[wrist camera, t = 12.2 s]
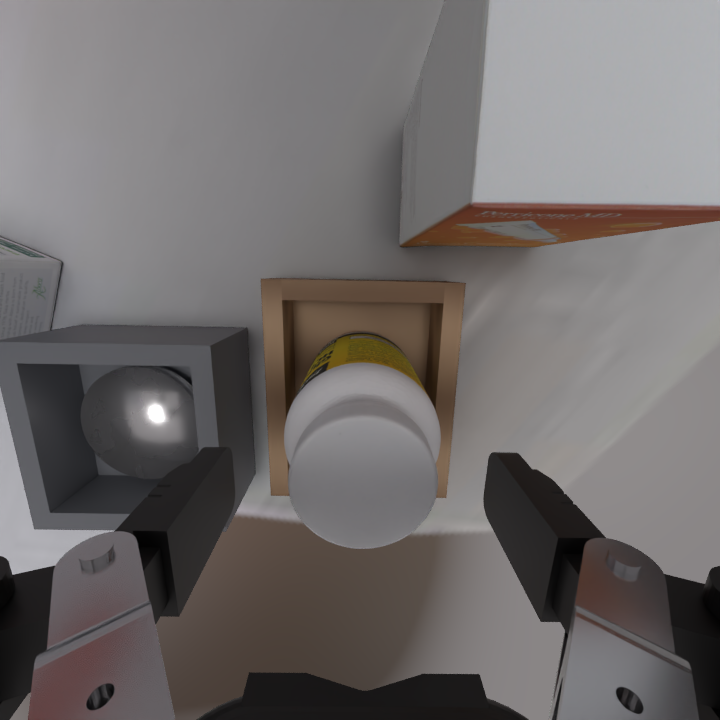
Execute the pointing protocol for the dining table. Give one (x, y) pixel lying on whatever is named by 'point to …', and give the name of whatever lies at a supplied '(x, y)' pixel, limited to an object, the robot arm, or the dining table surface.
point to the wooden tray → (359, 314)
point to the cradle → (64, 400)
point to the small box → (563, 122)
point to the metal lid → (141, 420)
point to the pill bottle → (362, 444)
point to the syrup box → (26, 290)
